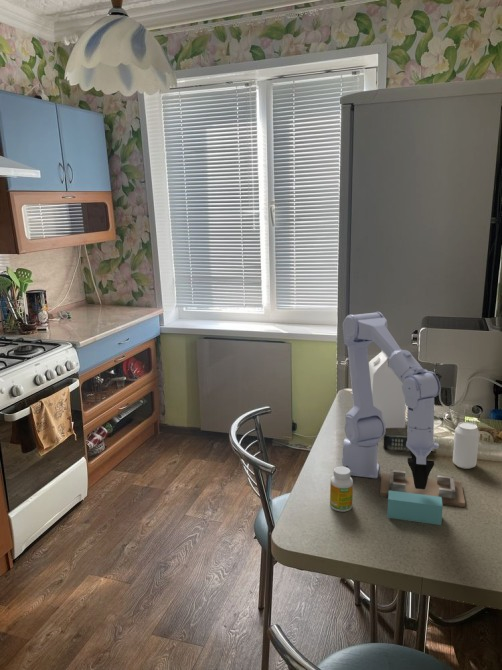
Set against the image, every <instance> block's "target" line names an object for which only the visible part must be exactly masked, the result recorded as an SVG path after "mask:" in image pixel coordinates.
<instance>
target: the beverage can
mask: <svg viewBox="0 0 502 670" xmlns="http://www.w3.org/2000/svg"><path fill="white" fill-rule="evenodd" d="M479 441H480V431H479V429H478V426H477V424H475V423H472V422H470V421H461V422H459V423H458V424H457V426H456V428H455V429H454V441H453V453H452V463H453V464H454V465H456V467H458V468H460V469H465V470H469V469H472V468H475V467H476V466H477V462H478V461H477V460H478V453H479V452H478V450H479Z"/></svg>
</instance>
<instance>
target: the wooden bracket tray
mask: <svg viewBox="0 0 502 670" xmlns="http://www.w3.org/2000/svg"><path fill="white" fill-rule="evenodd" d="M389 471H390V473H387V472H386V473H385V472H382V473H381V479H380V480H381V481H380V491H379V492H380V493H379V496H380V497H386V498H388V493H389V490H390V491H398V492H406V493H414V494H422V495H430V496H438V497H442V505H448V506H455V507H463V508H464V507H466V501H465V496H464V491H463V486H462V485H463V483H462V482H461V481H455V480H454V476H448V475H445V476H444V475H439V474H438V475H437V479H436V478H429V477H428V480H427V484H426V488H425V489H416V488H415V485H414V479H413V475H412V476H410V475H406V471H404V470H397V469H396V470H395V469H390V470H389Z"/></svg>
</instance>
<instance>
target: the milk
mask: <svg viewBox="0 0 502 670" xmlns="http://www.w3.org/2000/svg"><path fill="white" fill-rule="evenodd" d="M389 359H390V358H389V357H388V356H387V355H386V354H385V353H384V352H383V351H382V350H381V351H380V352H379V353H378V354H376V356H374V357H373V358H371V360H370V361H369V370H370V379H371V389H372V398H373V406H374V407H376V408H377V409H379V410H380V411H381V412H382V417H383V420H384V422H385V426H386V429H405V428H406V403H405V396H404V393H403V390H402V385H403V383H402V382H401V381H400V379H399V378H398V377H397V376H396V374H395V373H394V372H393V370H392V369H391V368H390V366H389Z"/></svg>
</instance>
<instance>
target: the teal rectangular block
mask: <svg viewBox="0 0 502 670" xmlns="http://www.w3.org/2000/svg"><path fill="white" fill-rule="evenodd" d="M443 505H444V504H442V497H438V496H430V495H422V494H414V493H406V492H398V491H390V490H389V493H388V497H387V512H386V513H387V516H386V517H387V518H388V519H395V520H396V519H397V520H402V521H411V522H416V523H417V522H419V523H424V524H432V525H438V526H442V520H443V519H442V517H443V508H444V507H443Z"/></svg>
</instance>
